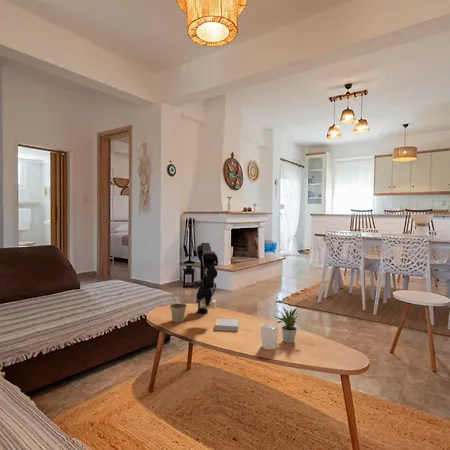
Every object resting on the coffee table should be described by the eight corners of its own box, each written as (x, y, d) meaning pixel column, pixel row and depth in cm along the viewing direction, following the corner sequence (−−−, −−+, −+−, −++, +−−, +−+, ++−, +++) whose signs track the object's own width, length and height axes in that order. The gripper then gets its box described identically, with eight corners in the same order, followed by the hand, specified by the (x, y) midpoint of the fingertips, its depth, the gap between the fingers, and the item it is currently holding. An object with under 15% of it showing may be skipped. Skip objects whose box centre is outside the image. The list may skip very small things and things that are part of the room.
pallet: (199, 308, 173) (200, 301, 173) (201, 305, 179) (201, 298, 179) (214, 308, 173) (214, 302, 173) (216, 305, 179) (216, 299, 179)
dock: (217, 322, 179) (217, 318, 179) (238, 324, 178) (238, 319, 178) (214, 329, 168) (215, 324, 168) (238, 331, 167) (238, 326, 167)
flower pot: (185, 324, 176) (185, 308, 176) (167, 323, 176) (168, 307, 176) (187, 318, 186) (187, 303, 185) (171, 318, 186) (171, 303, 185)
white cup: (273, 352, 143) (274, 329, 142) (257, 347, 147) (258, 325, 147) (280, 346, 149) (281, 324, 149) (265, 342, 154) (265, 321, 153)
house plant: (282, 332, 167) (283, 301, 167) (307, 338, 159) (309, 305, 159) (269, 340, 156) (270, 307, 155) (296, 348, 148) (297, 312, 147)
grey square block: (204, 301, 174) (204, 295, 174) (205, 299, 178) (205, 294, 178) (211, 301, 174) (211, 296, 174) (212, 299, 178) (212, 294, 178)
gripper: (197, 272, 186) (196, 299, 186) (190, 278, 167) (190, 308, 168) (216, 272, 185) (216, 300, 185) (212, 279, 166) (211, 309, 166)
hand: (208, 304), depth 176 cm, fingers closed on pallet, 6 cm apart
